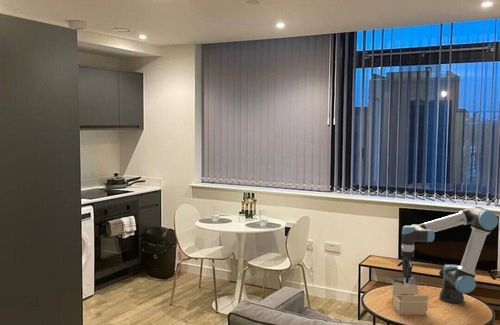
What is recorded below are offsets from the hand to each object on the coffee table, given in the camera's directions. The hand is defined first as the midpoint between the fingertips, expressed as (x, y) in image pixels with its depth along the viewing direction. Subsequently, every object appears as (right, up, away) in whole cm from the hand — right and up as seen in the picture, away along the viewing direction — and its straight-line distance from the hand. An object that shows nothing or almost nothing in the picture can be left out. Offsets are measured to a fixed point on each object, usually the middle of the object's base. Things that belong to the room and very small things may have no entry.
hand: (406, 287), depth 314 cm
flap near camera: (+1, -3, -15) cm, 15 cm away
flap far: (0, -1, 0) cm, 1 cm away
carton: (0, -13, -7) cm, 14 cm away
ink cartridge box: (+7, -11, +22) cm, 25 cm away
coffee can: (0, -12, +13) cm, 18 cm away
